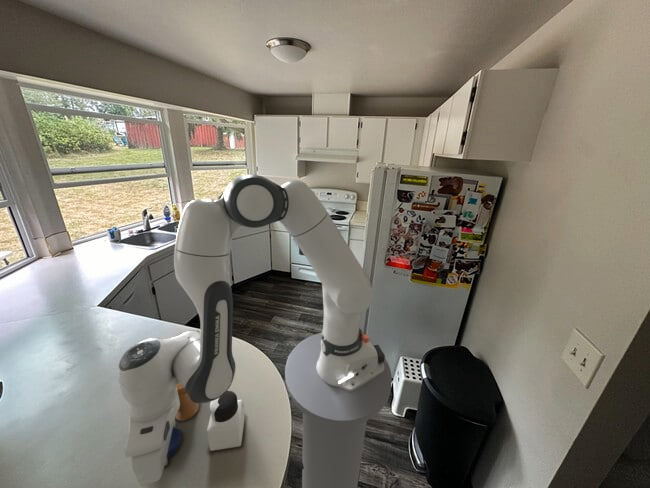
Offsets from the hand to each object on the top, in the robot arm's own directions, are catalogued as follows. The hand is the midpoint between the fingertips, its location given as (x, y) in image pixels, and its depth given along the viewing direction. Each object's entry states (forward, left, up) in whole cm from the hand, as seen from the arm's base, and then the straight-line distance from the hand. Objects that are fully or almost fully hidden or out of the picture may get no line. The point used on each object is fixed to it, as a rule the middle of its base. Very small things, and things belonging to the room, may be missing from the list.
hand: (167, 446), depth 60 cm
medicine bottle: (-14, +3, 0) cm, 14 cm away
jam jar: (-4, -8, 0) cm, 9 cm away
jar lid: (0, 0, +2) cm, 2 cm away
